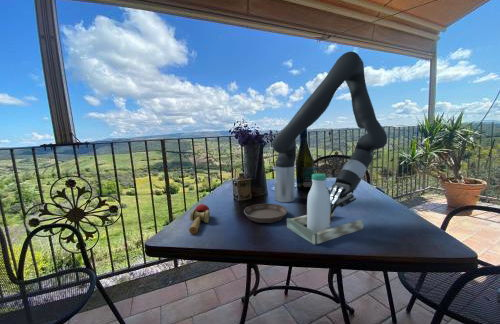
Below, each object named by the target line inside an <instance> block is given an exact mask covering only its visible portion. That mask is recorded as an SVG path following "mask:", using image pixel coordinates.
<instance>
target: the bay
mask: <svg viewBox="0 0 500 324" xmlns="http://www.w3.org/2000/svg"><path fill="white" fill-rule="evenodd" d="M334 217H335V211H334V212H333V213H332V214H331V218H334ZM305 225H307V214H305V215H301V216H296V217H293V218H292V217H291V218H290V217H287V218H286V228H287V230H289V231H292V233H294V234H296V235H298V236H300V237H301V238H303V239H304V240H306V241H308V242H309V243H311V244H313V245H315V246H316V245H318V244H322V243H325V242H327V241H330V240H335V239H337V238H340V237H342V236H345V235H348V234H352V233H355V232H358V231H361V230H363V229H364V220H363V219H357V220H354V221H350V222H348V223H345V224H341V225H338V226H335V227H331V228H330V229H327V230H324V231H321V232H317V233H316V232H314V231H312V230H310V229H308V228H307V226H305Z"/></svg>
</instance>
